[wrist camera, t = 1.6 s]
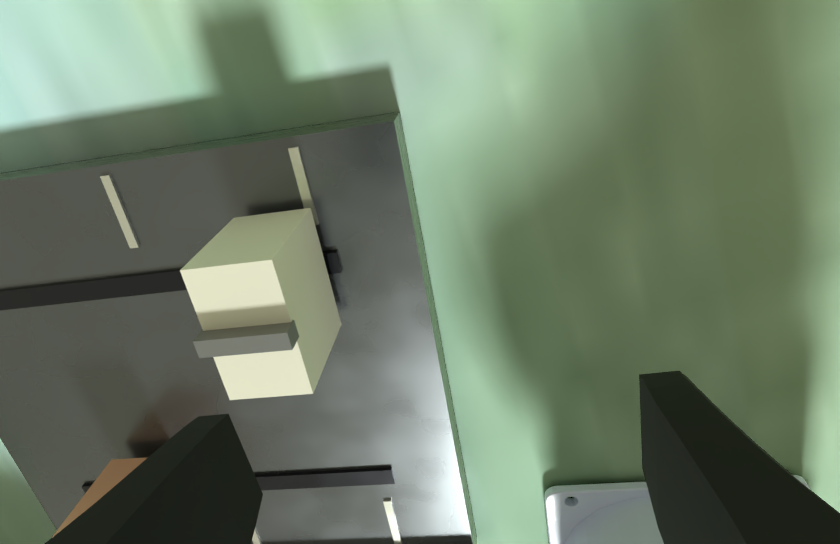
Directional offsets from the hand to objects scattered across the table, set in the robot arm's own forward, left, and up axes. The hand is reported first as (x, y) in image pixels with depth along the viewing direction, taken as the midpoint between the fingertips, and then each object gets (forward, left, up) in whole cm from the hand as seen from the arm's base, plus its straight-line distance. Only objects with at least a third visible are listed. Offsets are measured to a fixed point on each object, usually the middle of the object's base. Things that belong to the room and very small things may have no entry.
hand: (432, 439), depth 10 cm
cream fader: (+5, 0, -8) cm, 9 cm away
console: (+10, +5, -10) cm, 15 cm away
